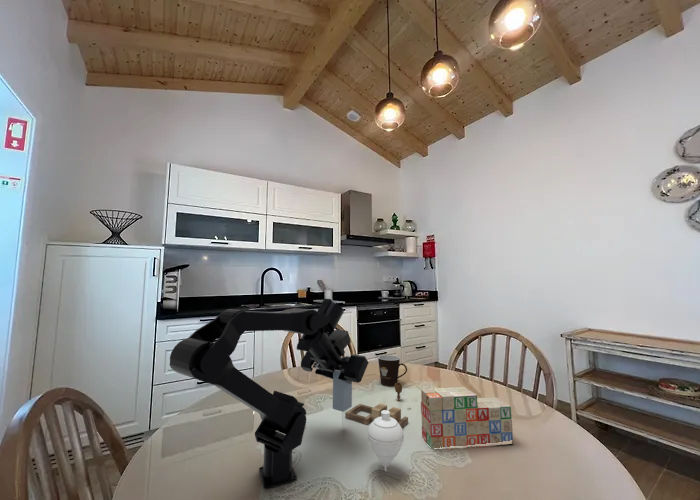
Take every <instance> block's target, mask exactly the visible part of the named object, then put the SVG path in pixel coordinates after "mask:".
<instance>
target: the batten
mask: <svg viewBox="0 0 700 500" xmlns="http://www.w3.org/2000/svg"><path fill="white" fill-rule="evenodd" d="M340 373H341V371H337V370H335V371H334V372H333V379H332V410H336V411H339V412H343V413H344V412H345V411H346V412H347V410H350V408H351V409H352V408H353V403H352V402H353V382H352V383H351V384H349V383H346V382H344V381H342V380H339V379H338V377H339V375H340Z"/></svg>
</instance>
